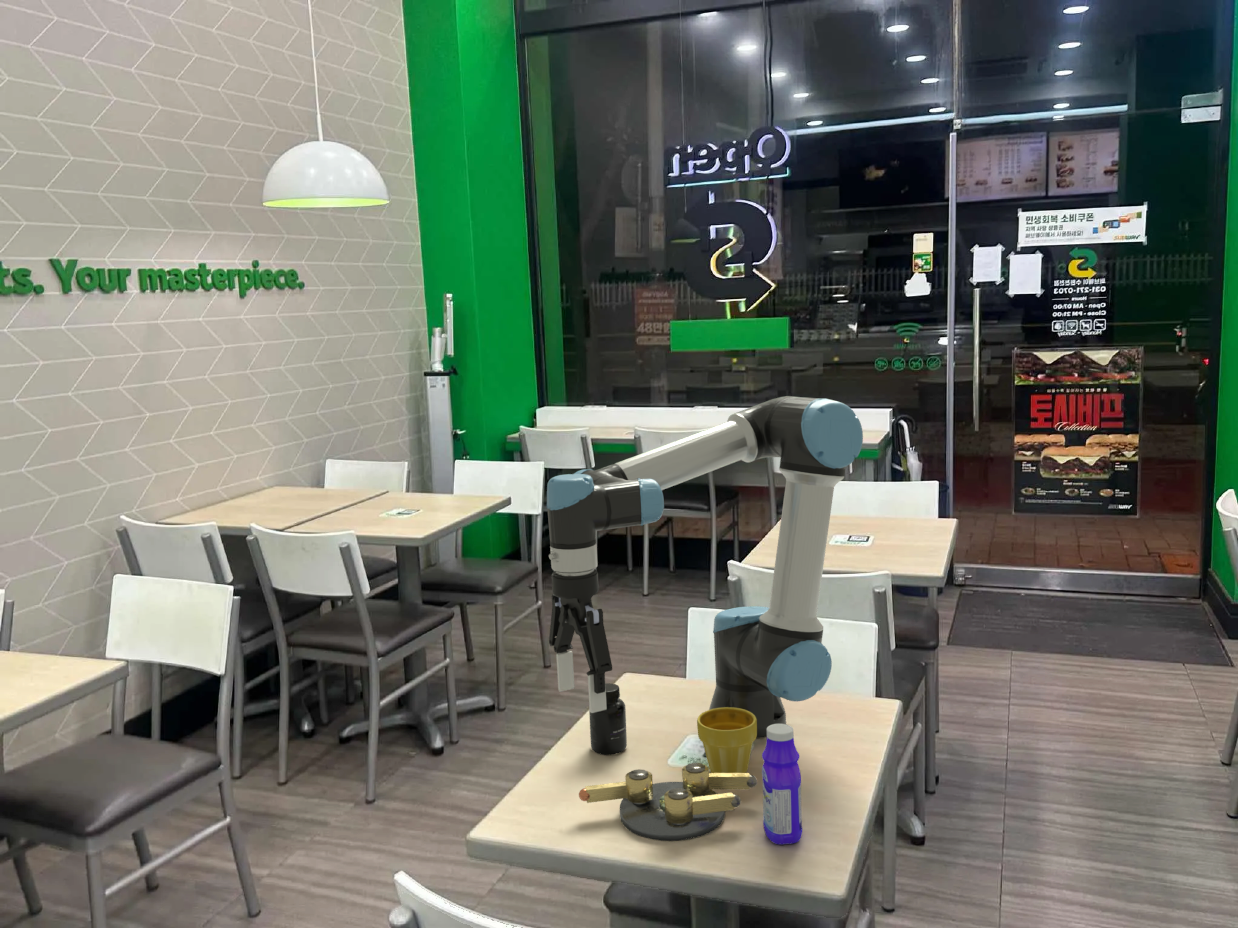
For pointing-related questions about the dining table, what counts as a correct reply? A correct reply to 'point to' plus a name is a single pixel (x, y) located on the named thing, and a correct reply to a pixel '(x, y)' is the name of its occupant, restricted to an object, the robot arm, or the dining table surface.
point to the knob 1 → (622, 789)
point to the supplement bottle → (609, 724)
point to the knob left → (713, 779)
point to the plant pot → (727, 738)
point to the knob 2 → (695, 804)
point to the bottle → (781, 786)
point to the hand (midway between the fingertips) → (581, 699)
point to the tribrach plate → (652, 817)
